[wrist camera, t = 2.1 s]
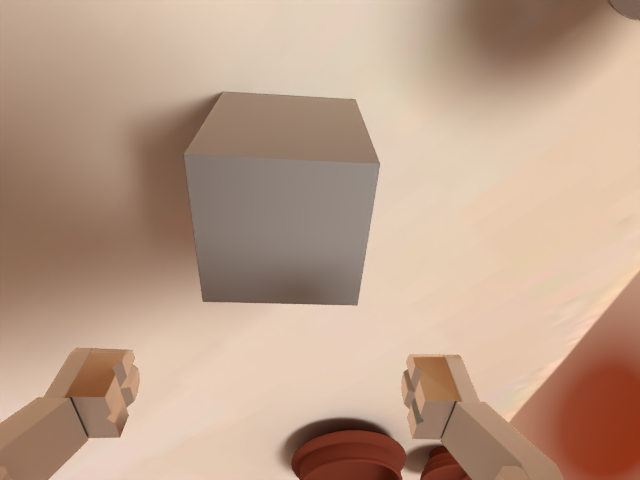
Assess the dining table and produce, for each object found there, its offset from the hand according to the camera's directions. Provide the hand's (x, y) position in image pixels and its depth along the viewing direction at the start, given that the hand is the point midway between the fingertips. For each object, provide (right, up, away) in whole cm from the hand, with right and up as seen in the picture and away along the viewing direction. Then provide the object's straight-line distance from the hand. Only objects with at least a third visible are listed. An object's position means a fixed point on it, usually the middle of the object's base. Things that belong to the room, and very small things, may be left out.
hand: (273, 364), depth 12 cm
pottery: (+8, -19, +32) cm, 38 cm away
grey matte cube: (0, +9, +12) cm, 15 cm away
